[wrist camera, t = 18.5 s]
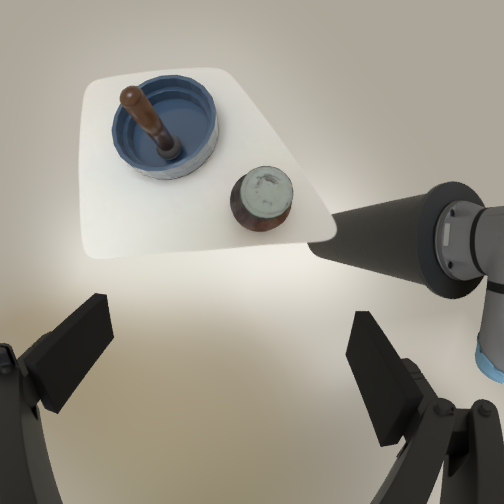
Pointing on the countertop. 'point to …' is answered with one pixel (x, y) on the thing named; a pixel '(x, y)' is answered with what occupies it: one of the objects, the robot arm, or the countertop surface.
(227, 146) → the countertop surface
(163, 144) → the wooden pestle
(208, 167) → the countertop surface
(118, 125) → the bowl
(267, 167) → the sauce bottle
